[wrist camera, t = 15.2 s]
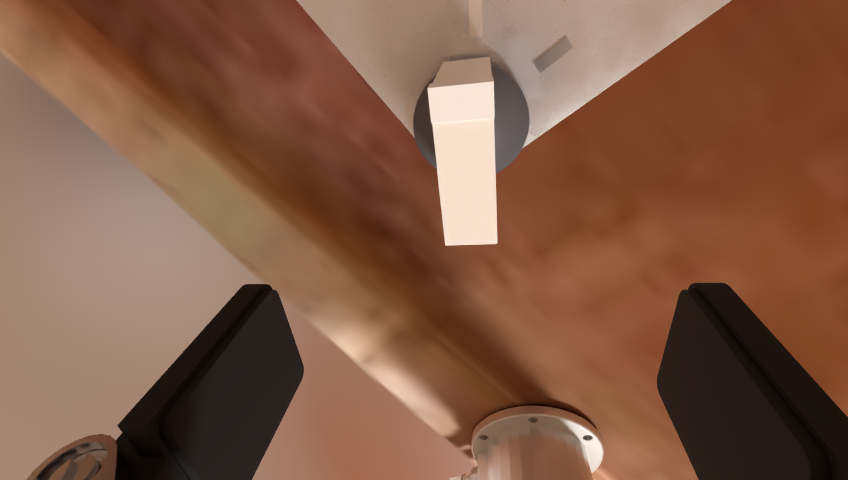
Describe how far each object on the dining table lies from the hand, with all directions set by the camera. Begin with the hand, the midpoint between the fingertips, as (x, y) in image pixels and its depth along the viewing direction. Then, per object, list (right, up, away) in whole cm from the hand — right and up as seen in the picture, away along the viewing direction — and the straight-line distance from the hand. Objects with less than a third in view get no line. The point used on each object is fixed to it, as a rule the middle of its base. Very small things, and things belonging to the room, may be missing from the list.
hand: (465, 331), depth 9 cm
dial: (+1, +9, +12) cm, 15 cm away
